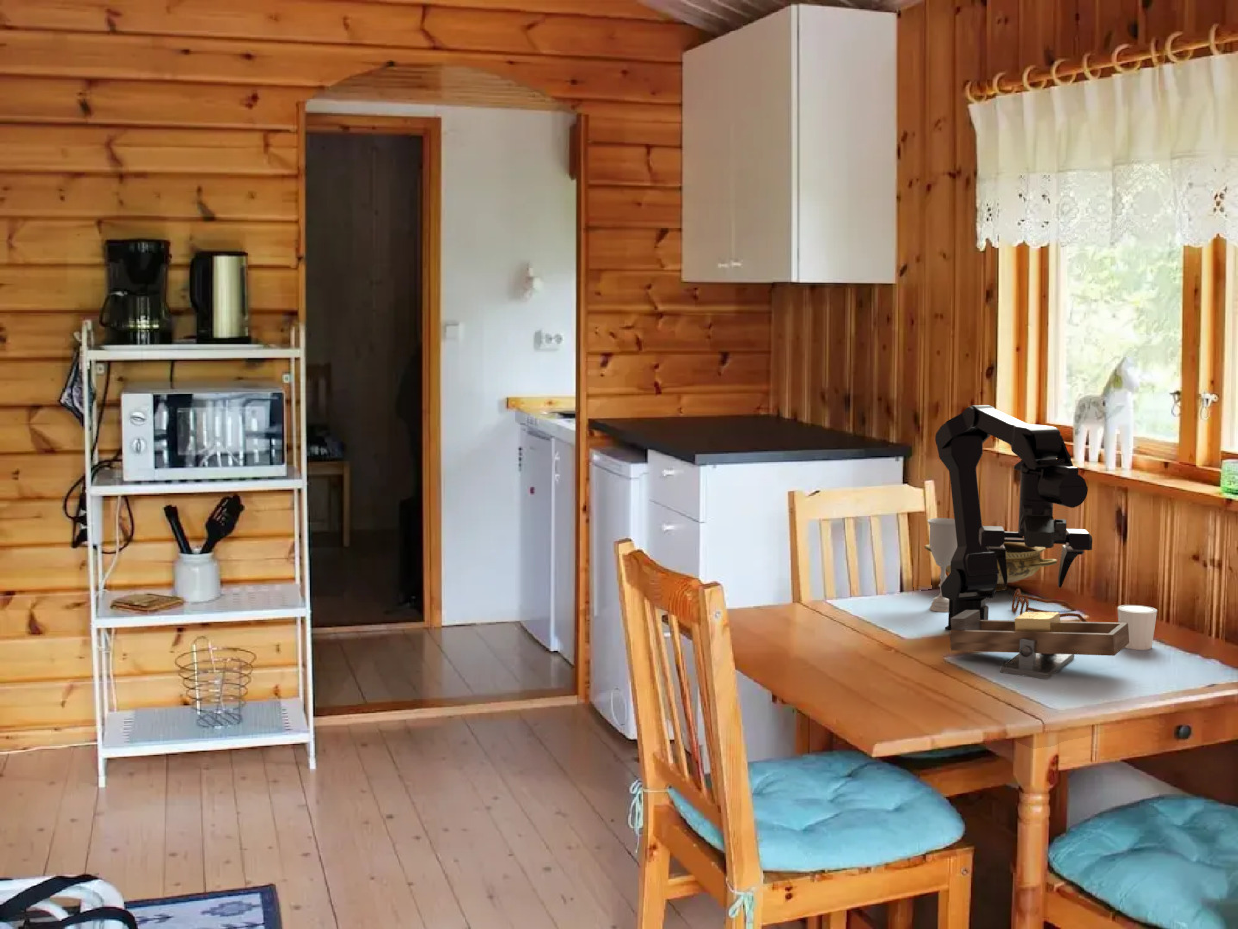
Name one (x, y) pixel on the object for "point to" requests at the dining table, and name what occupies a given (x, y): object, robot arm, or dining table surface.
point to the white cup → (1138, 625)
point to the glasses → (1040, 601)
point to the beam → (1036, 636)
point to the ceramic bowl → (1018, 562)
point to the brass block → (1038, 622)
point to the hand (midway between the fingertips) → (1032, 586)
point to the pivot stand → (1035, 661)
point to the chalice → (942, 553)
